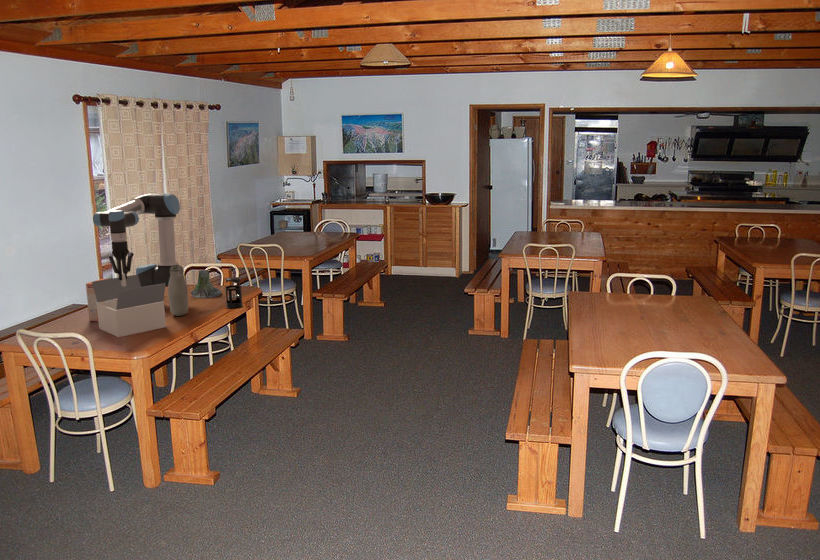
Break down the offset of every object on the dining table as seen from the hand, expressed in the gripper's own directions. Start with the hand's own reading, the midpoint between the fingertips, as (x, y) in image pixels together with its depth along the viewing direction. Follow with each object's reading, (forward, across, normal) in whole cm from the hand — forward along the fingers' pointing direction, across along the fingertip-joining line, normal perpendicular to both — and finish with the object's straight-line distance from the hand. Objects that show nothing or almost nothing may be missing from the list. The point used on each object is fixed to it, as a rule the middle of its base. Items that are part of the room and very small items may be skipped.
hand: (123, 285), depth 357 cm
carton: (+21, 0, -6) cm, 22 cm away
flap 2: (+2, 0, -20) cm, 20 cm away
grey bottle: (+22, +29, -1) cm, 36 cm away
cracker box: (+22, -3, +25) cm, 33 cm away
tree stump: (+22, +65, +34) cm, 76 cm away
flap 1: (+2, 0, +7) cm, 7 cm away
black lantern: (+22, +60, -7) cm, 64 cm away
